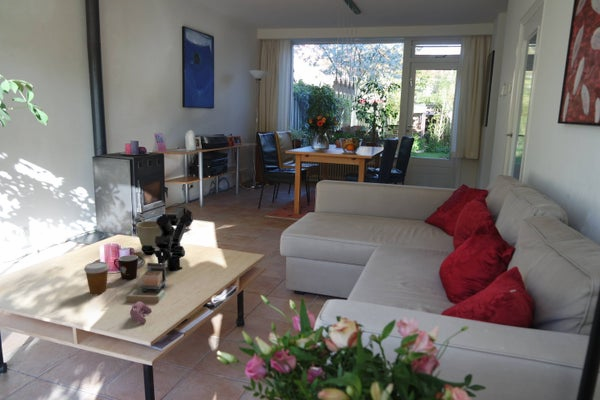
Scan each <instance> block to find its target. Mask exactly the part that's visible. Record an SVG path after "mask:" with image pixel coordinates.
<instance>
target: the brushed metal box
mask: <svg viewBox="0 0 600 400" xmlns="http://www.w3.org/2000/svg"><path fill="white" fill-rule="evenodd" d="M165 267H166V263H164V264H163V263H158V262H155V263H154V262H148V263H147V267H146V268H147V271H145V273H144V274H142V284H141V285H140V289H141V291H142V292H143V293H146V292H148V290H149V289H150V290H151V289H153V290H154V292H155V293H156V294H159V293H160V292H161V288H165V287H166V282H167V279H166V276H167V274H166V269H165Z"/></svg>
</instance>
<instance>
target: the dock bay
mask: <svg viewBox="0 0 600 400" xmlns="http://www.w3.org/2000/svg"><path fill="white" fill-rule="evenodd" d="M165 295H166V291H165V290H164V289H163V290H160V292H159V293H157V295H148V294H147V295H145V294H138V289H135V288H134V289H133V290H132V291H130V293H129V294H126V303H137V302H140V301H141V302H142V303H144V304H145V303H146V304H152V303H153V304H159V303H160V301H161V300H162V299H163V298H164V297H165Z"/></svg>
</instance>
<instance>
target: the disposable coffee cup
mask: <svg viewBox="0 0 600 400" xmlns="http://www.w3.org/2000/svg"><path fill="white" fill-rule="evenodd" d="M109 268H110V266H109V264H108V262H104V261H95V262H90V263H87V264H86V265H85V266H84V269H83V270H84V272H85V275H86V281H87V285H88V290H89V294H90V295H102V294H103V293H105V292H106V291H107V284H108V270H109Z"/></svg>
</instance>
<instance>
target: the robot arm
mask: <svg viewBox="0 0 600 400" xmlns="http://www.w3.org/2000/svg"><path fill="white" fill-rule="evenodd" d="M155 221H156V223H157V225H158V227H159V229H160V231H162V232H161V236H156V237H155V244H156V246H157V247H155V248H153V247H152V245H143V246H142V245H141V252H142V253H143V255H144V256H149V257H150V256H153V255H155V257H156V258H157V263H163V264H166V266H165V270H167V271H169V272H175V271H178V270H182V269H183V267H182V266H181V261H180V260H181V258H184V257H185V255H186V251H185V248H184V246H183V245H181V241H182V239H183V236H184V234H185V231H186V229H187V228H188V227H189V226H191V225H192V223H193V222H194V214H193V213H192V211H191V210H189V209H188V208H187V206H180V205H179V206H176V208H175V209H174V210H173V211H172V212H167V213H162V215H161V216H158V217H157V219H156V220H155Z"/></svg>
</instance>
